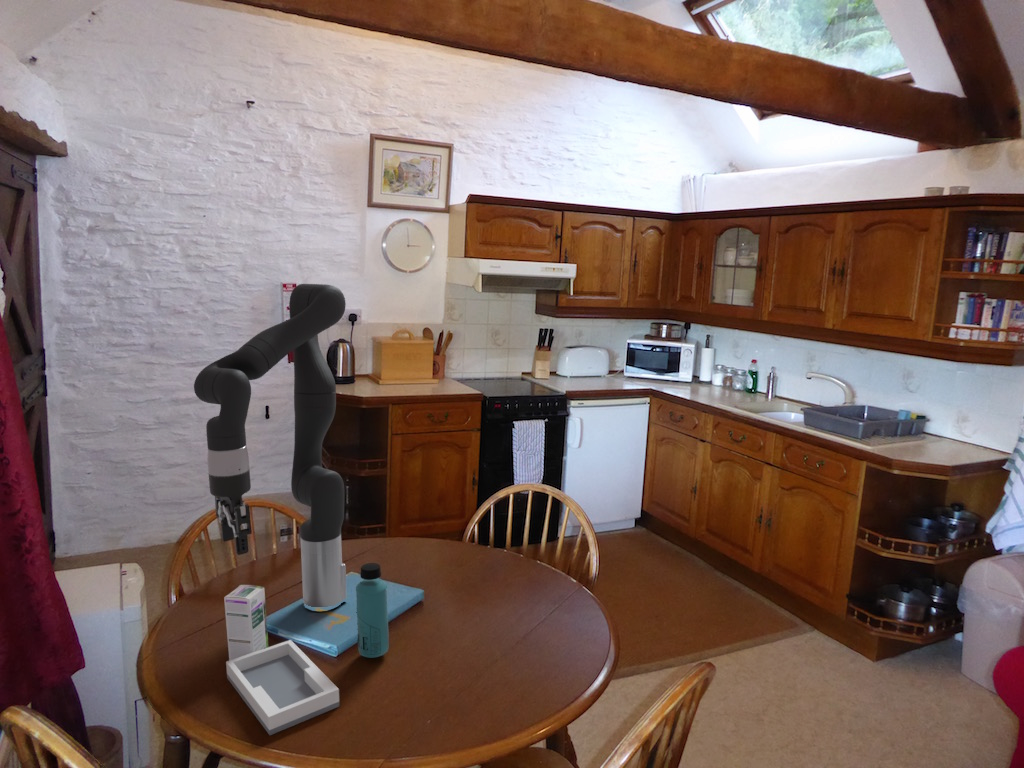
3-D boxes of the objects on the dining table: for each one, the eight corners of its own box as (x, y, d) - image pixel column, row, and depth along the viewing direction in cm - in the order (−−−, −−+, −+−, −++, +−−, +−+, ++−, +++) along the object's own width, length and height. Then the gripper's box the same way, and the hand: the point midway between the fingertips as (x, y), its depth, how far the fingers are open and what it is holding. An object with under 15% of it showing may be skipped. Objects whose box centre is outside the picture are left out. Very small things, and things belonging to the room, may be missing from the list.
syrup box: (254, 666, 144) (250, 598, 141) (227, 662, 145) (223, 595, 142) (269, 651, 149) (265, 586, 147) (243, 647, 150) (239, 583, 148)
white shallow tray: (291, 655, 148) (290, 639, 147) (339, 706, 131) (338, 688, 130) (227, 678, 140) (226, 661, 139) (269, 735, 123) (268, 717, 122)
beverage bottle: (395, 651, 150) (393, 561, 146) (379, 668, 143) (376, 574, 140) (367, 645, 152) (365, 556, 148) (351, 662, 145) (347, 569, 142)
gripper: (261, 473, 137) (266, 553, 140) (236, 457, 148) (242, 531, 151) (220, 481, 132) (227, 563, 135) (198, 464, 143) (204, 540, 146)
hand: (235, 546), depth 143 cm, fingers open, 8 cm apart
